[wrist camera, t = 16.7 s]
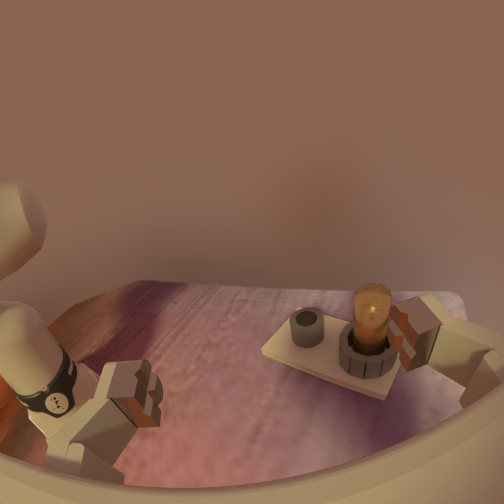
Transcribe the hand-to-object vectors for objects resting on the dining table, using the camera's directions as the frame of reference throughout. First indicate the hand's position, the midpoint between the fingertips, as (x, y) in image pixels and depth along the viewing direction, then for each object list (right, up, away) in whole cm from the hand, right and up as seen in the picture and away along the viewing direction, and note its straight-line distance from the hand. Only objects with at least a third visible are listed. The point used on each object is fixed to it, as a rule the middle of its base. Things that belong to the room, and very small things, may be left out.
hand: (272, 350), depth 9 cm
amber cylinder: (+17, -13, +31) cm, 38 cm away
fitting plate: (+13, -13, +35) cm, 40 cm away
